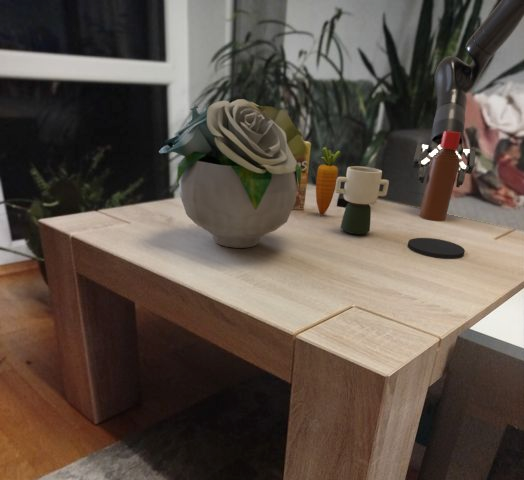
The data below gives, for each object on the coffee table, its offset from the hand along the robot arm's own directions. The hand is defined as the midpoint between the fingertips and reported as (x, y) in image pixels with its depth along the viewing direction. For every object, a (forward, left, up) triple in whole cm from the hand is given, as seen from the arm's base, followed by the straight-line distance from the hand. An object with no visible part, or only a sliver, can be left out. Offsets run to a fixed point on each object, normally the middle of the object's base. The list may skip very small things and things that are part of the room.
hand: (440, 183), depth 121 cm
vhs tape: (+17, -13, -9) cm, 23 cm away
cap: (0, 0, +8) cm, 8 cm away
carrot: (+29, +3, -9) cm, 30 cm away
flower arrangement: (+51, +27, -9) cm, 58 cm away
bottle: (0, 0, -8) cm, 8 cm away
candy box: (+37, -3, -9) cm, 38 cm away
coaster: (+11, +27, -8) cm, 30 cm away
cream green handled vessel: (+25, +17, -9) cm, 31 cm away
